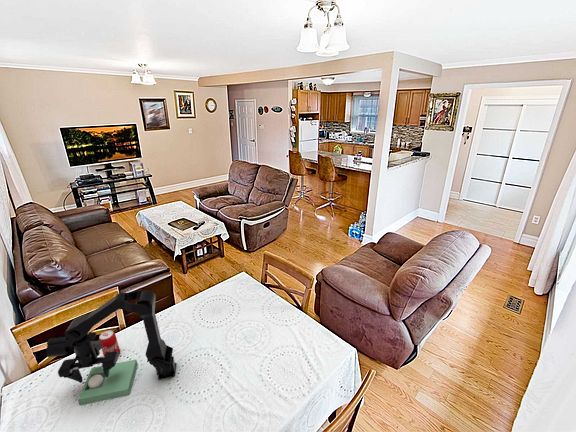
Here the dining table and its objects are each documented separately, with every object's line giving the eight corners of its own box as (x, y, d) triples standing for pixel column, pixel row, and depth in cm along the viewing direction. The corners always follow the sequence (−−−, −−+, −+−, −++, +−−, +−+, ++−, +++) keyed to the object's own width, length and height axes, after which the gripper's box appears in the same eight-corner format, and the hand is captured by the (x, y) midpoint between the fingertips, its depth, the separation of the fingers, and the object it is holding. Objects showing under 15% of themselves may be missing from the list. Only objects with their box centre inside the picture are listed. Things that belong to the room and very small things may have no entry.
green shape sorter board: (137, 364, 122) (136, 359, 121) (129, 394, 110) (127, 389, 109) (93, 373, 118) (91, 367, 117) (79, 405, 106) (77, 399, 105)
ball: (93, 382, 115) (106, 378, 116) (88, 393, 110) (102, 390, 111) (89, 373, 113) (102, 370, 114) (84, 384, 108) (98, 381, 109)
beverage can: (113, 362, 123) (106, 341, 119) (101, 359, 124) (94, 339, 120) (123, 350, 129) (117, 330, 124) (112, 348, 130) (105, 328, 126)
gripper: (118, 329, 115) (126, 357, 121) (65, 337, 111) (76, 366, 117) (109, 350, 105) (118, 380, 111) (51, 361, 101) (64, 391, 107)
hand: (94, 378), depth 111 cm, fingers open, 9 cm apart
